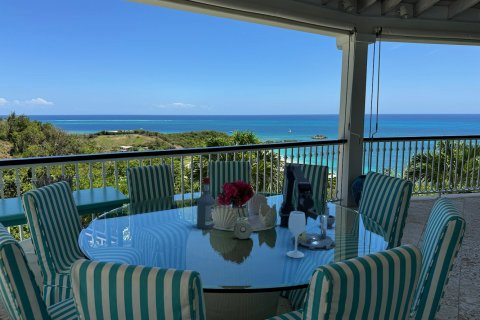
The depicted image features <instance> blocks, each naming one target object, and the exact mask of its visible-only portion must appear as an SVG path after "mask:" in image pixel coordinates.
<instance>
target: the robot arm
mask: <svg viewBox="0 0 480 320" xmlns="http://www.w3.org/2000/svg"><path fill="white" fill-rule="evenodd" d="M283 172H284V175H285V179H286V184H285V190H284V191H285V193H284V200H283V201H282V202H281V204H280V207H279V209H278V216H279V217H280V223H279V227H280V228H281V227H283V228H289V217H290V213H291V212H293V211H295V206H294V204H293V202H292V201H293V196H294V188H295V191H296V194H297V198H296V199H297V200H296V201H297V202H296V211H299V212H303V213H304V214H305V221H306V225H305V227H307V225H308V220H309V218H310V219H312V220H314V221H317V219H318V218H319V215H320V214H319V212H318V210H317V209H316V208H314V206H315V200H314V199H312V196H314V189H313V186H312V183H311V182H310V180H309V179H307V178H306V177H305V175H304V172H303V171H302V166H301V164H299V163H292V164H290V165H286V166H285V167H284V170H283ZM295 182H296V183H295ZM312 208H313V209H312ZM299 236H302V234H300V235H299Z"/></svg>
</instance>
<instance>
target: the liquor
mask: <svg viewBox="0 0 480 320" xmlns="http://www.w3.org/2000/svg"><path fill="white" fill-rule="evenodd" d="M210 179H211V178H210V177H208V176H206V177H203V191H202V194H201V195H200V196H199V197H198V199H197V200H196V227H197V228H198V229H200V230H211V229H213V226H214V227H215V222H214V223H213V219H212V212H213V210H214V209H215V208H216V200H215V198H214V197H213V196H212V195H211V193H210V181H211V180H210ZM215 210H216V209H215Z"/></svg>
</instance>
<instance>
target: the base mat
mask: <svg viewBox="0 0 480 320" xmlns="http://www.w3.org/2000/svg"><path fill="white" fill-rule="evenodd" d="M291 241H292V240H291ZM291 243H292V245H294V246H295V241H292V242H291ZM335 246H336V244H335V245H332V246H331V247H330V248H329V249H325V248H322V249H309V248H307V247H303V246H297V248H300V249H304V250H309V251H316V252H317V251H329V250H332V249H334V248H335Z"/></svg>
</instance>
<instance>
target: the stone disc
mask: <svg viewBox="0 0 480 320" xmlns="http://www.w3.org/2000/svg"><path fill="white" fill-rule="evenodd" d="M242 228H244V229H245V230H242ZM253 232H254V230H253V226H252V224H251V222H249V221H248V220H245V219H244V220H243V219H241V220H238V221H236V222H235V223H234V226H233V233H234V236H236V238H238V239H241V240H243V239H244V240H246V239H249V238H250V237H251V236H252V234H253Z"/></svg>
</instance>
